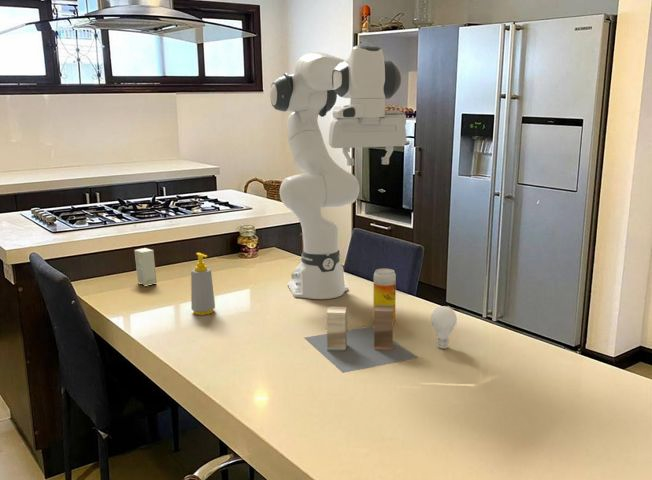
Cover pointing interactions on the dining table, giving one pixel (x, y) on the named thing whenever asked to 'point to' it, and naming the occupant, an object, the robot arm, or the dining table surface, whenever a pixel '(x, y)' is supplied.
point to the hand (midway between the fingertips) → (368, 164)
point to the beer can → (384, 288)
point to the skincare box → (145, 266)
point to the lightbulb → (443, 324)
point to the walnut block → (383, 327)
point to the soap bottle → (202, 288)
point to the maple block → (337, 329)
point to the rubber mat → (360, 351)
